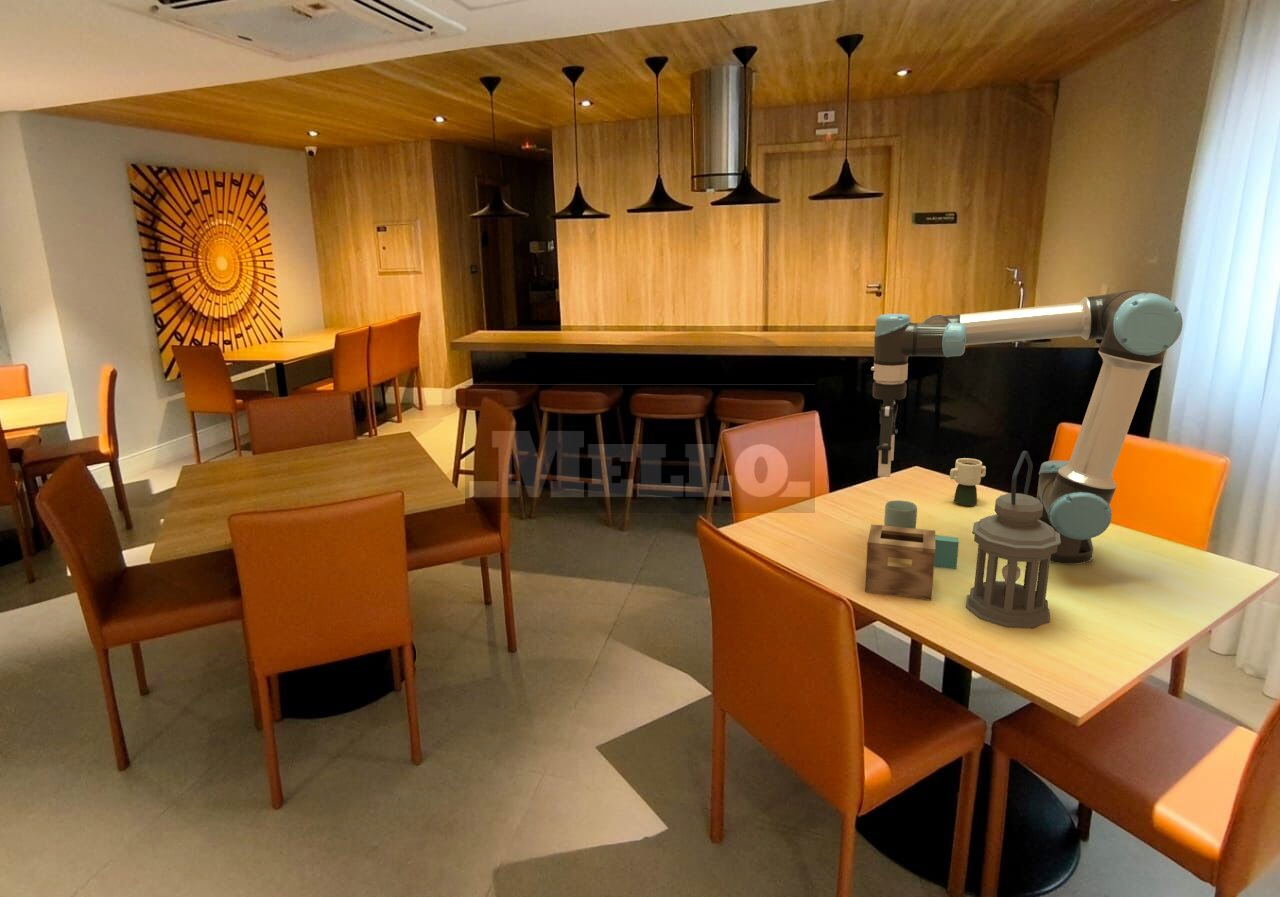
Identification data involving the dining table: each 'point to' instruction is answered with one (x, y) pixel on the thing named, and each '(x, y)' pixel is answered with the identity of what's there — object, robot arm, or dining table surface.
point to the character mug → (967, 480)
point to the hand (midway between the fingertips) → (885, 467)
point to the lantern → (1013, 560)
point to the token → (946, 552)
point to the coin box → (900, 561)
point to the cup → (900, 514)
